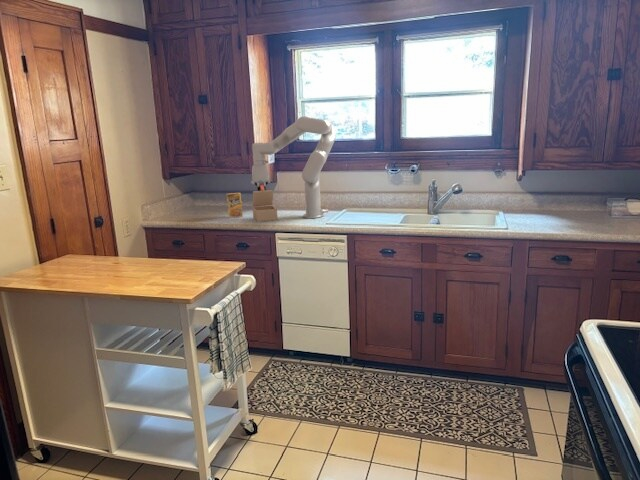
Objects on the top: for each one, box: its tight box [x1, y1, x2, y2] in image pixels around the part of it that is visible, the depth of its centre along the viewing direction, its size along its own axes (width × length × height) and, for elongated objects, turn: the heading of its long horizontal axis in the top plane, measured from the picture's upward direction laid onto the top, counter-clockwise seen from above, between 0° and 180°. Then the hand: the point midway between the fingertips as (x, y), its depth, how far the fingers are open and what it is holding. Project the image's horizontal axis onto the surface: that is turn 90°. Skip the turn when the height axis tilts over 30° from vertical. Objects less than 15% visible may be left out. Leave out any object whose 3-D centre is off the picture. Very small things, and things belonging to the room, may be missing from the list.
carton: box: [252, 205, 278, 223], centre depth 301 cm, size 13×13×7 cm
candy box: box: [225, 192, 244, 219], centre depth 311 cm, size 9×4×15 cm, turn 107°
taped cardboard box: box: [252, 183, 274, 208], centre depth 304 cm, size 12×12×7 cm
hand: (261, 192), depth 304 cm, fingers closed on taped cardboard box, 2 cm apart
